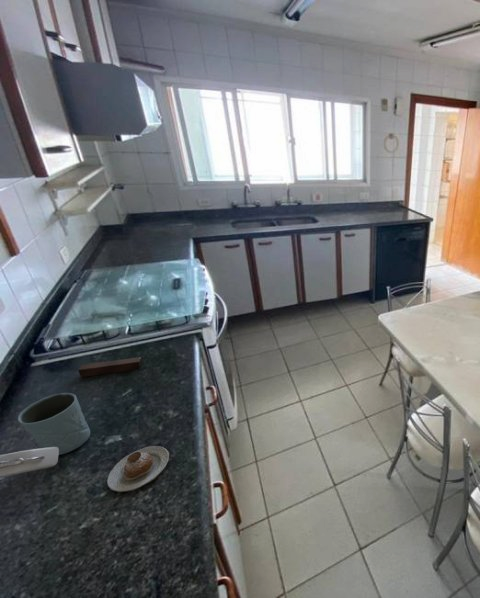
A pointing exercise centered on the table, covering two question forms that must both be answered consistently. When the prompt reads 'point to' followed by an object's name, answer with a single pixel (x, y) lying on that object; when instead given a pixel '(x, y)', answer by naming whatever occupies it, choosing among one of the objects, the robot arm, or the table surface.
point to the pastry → (138, 469)
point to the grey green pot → (56, 422)
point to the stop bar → (110, 367)
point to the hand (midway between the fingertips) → (10, 466)
